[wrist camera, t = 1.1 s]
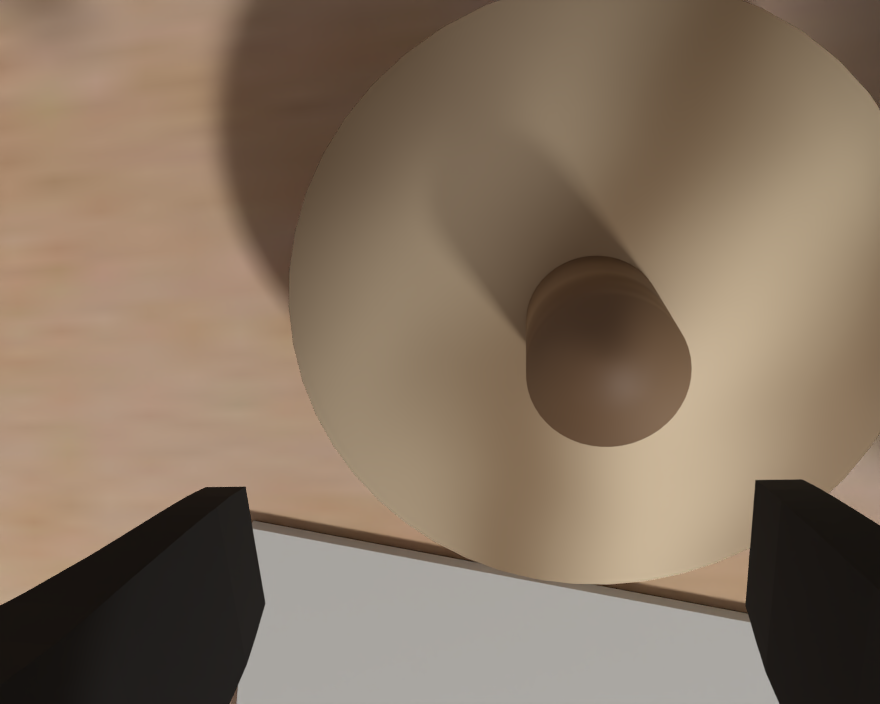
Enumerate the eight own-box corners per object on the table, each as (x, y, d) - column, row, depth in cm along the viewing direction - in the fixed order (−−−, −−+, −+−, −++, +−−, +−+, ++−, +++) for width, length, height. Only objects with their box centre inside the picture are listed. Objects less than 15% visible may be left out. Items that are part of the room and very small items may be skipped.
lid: (1014, 38, 14) (1176, 25, 11) (798, 608, 19) (862, 732, 15) (327, -65, 15) (265, -109, 11) (278, 511, 19) (222, 609, 16)
